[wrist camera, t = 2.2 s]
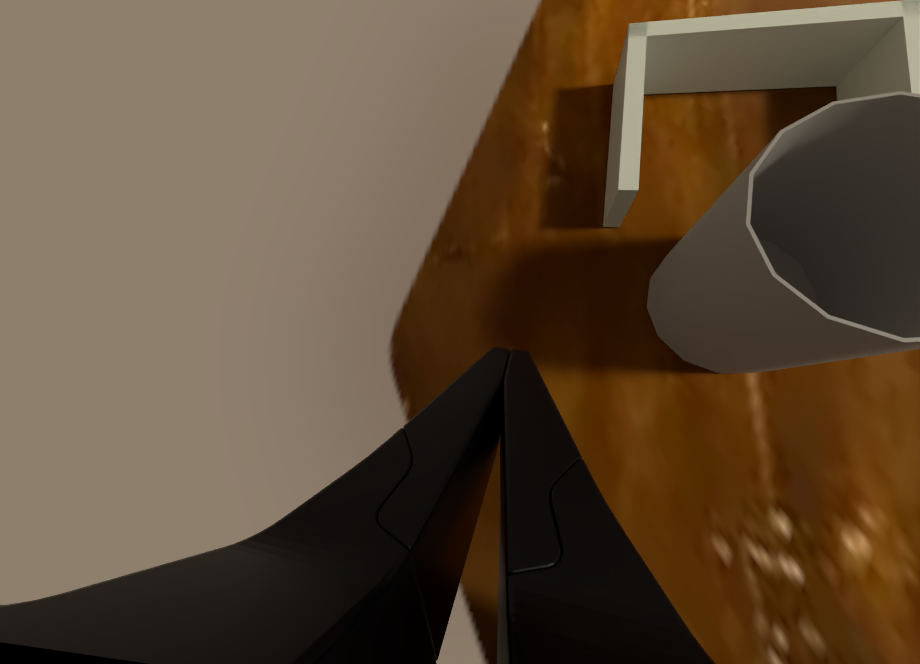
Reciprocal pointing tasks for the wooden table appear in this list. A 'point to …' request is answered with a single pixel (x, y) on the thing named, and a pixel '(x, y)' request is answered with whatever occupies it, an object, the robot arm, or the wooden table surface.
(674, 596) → the wooden table surface
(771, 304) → the cup
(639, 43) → the u-shaped wall frame
